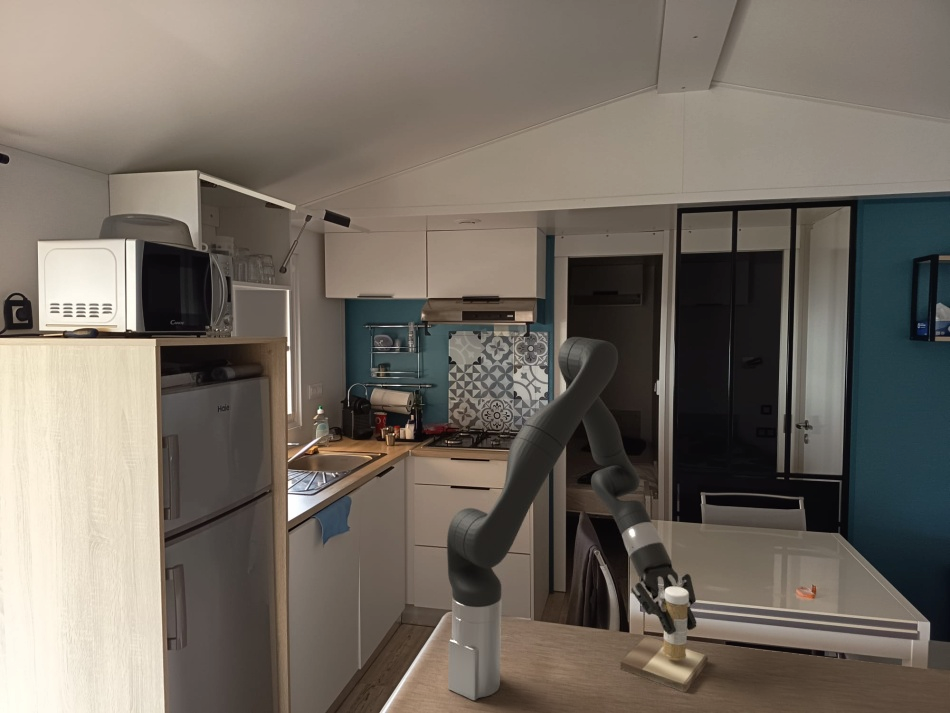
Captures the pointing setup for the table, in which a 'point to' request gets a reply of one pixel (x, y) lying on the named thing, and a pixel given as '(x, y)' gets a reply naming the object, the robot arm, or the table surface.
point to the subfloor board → (663, 664)
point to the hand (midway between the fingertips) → (682, 630)
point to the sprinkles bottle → (676, 622)
